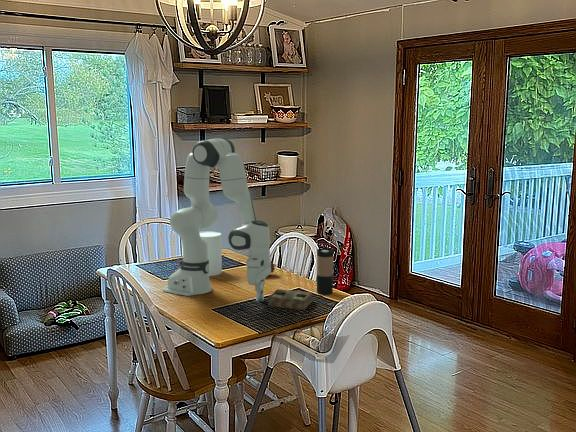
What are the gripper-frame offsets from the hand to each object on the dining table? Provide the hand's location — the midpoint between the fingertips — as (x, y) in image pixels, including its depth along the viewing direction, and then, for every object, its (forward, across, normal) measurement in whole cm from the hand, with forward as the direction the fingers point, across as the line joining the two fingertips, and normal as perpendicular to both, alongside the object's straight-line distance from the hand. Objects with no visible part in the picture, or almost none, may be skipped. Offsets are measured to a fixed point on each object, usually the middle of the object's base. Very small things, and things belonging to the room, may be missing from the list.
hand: (259, 289), depth 264 cm
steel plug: (+5, 0, 0) cm, 5 cm away
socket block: (+5, 0, +14) cm, 15 cm away
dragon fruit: (+5, -38, -12) cm, 40 cm away
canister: (+5, -35, -41) cm, 54 cm away
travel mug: (+5, -20, +24) cm, 32 cm away
